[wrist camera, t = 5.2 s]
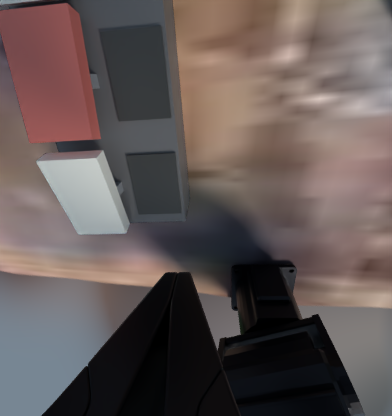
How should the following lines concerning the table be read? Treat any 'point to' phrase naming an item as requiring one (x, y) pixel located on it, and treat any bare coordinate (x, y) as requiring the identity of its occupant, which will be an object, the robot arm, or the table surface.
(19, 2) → the white rectangular block
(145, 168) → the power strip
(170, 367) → the robot arm
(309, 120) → the table surface
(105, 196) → the block
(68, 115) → the red block
